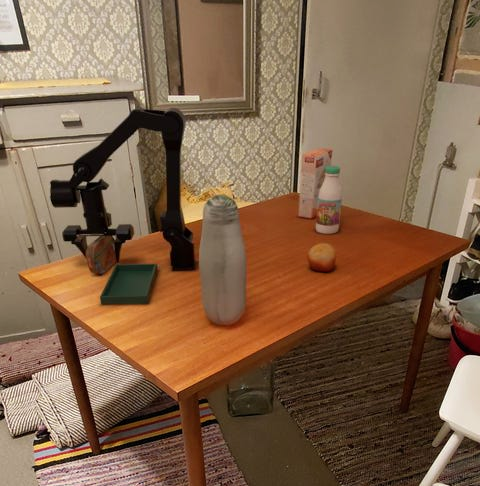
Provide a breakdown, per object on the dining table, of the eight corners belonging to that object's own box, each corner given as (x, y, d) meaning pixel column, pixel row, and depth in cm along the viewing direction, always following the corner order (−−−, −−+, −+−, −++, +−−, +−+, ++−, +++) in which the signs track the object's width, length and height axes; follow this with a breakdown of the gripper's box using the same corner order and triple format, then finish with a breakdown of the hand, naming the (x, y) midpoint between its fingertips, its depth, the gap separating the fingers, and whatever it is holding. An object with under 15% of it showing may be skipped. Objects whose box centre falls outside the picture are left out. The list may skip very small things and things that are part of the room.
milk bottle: (315, 226, 169) (320, 164, 157) (338, 227, 168) (344, 164, 156) (315, 234, 163) (320, 169, 151) (338, 234, 162) (345, 170, 150)
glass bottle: (250, 328, 112) (250, 201, 95) (206, 333, 110) (198, 205, 94) (241, 309, 120) (240, 188, 103) (200, 314, 118) (191, 192, 101)
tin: (98, 278, 136) (92, 249, 131) (88, 278, 136) (81, 248, 131) (119, 258, 148) (115, 230, 143) (110, 258, 148) (105, 230, 143)
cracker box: (312, 219, 176) (317, 155, 163) (297, 217, 178) (300, 154, 166) (327, 209, 185) (333, 148, 173) (313, 207, 188) (317, 147, 175)
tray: (157, 270, 140) (156, 263, 138) (147, 304, 123) (146, 295, 121) (117, 271, 140) (115, 264, 138) (101, 304, 123) (99, 296, 121)
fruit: (340, 259, 141) (339, 240, 134) (332, 281, 139) (330, 263, 132) (313, 255, 144) (311, 236, 137) (305, 276, 141) (302, 258, 134)
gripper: (133, 197, 138) (140, 251, 148) (67, 199, 138) (78, 253, 148) (126, 209, 129) (134, 266, 139) (55, 210, 129) (68, 267, 139)
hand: (104, 262), depth 141 cm, fingers open, 8 cm apart
